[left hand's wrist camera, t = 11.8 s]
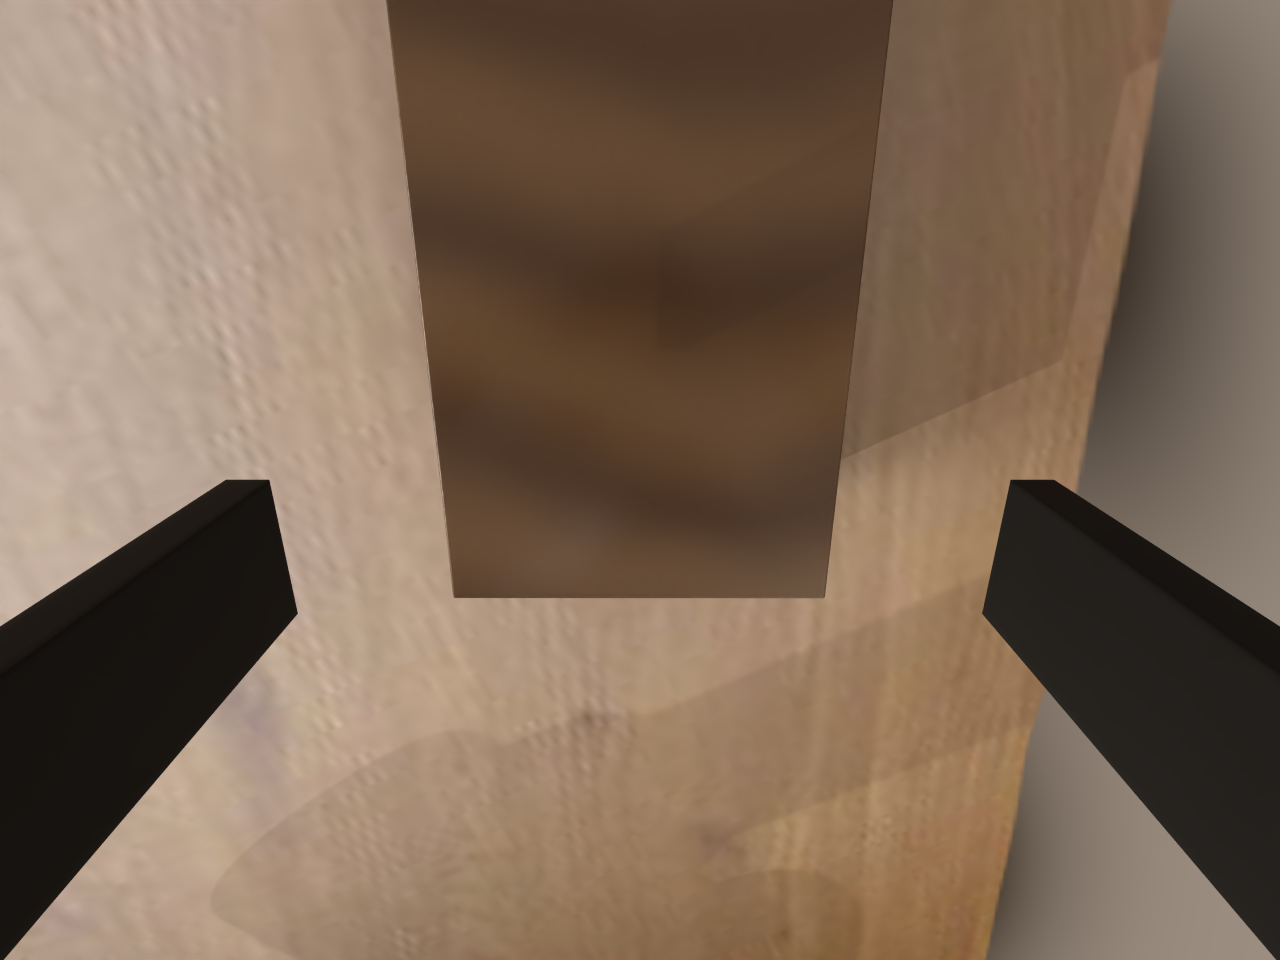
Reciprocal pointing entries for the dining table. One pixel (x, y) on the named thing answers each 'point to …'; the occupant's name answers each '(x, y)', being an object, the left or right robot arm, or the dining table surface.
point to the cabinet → (639, 283)
